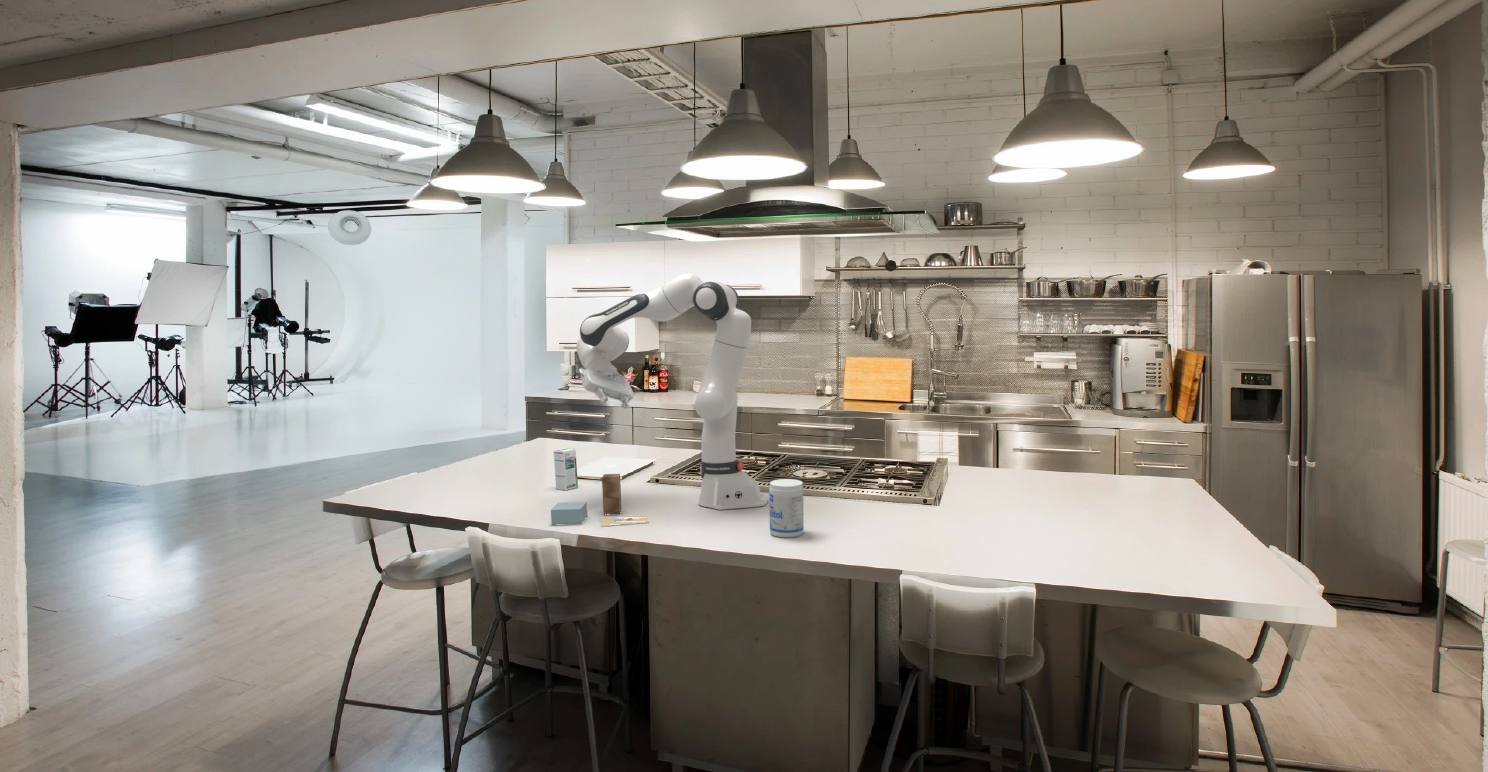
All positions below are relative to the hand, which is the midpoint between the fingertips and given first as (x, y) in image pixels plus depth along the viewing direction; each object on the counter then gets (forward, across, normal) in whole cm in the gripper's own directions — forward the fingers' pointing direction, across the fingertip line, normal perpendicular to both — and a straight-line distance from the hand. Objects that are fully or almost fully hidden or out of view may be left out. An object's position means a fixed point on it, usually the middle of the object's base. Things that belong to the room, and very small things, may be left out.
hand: (615, 404), depth 257 cm
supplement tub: (+67, +14, -24) cm, 72 cm away
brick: (+27, -8, +28) cm, 40 cm away
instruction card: (+35, 0, +15) cm, 38 cm away
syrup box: (-6, +19, +47) cm, 51 cm away
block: (+27, +4, +21) cm, 35 cm away
